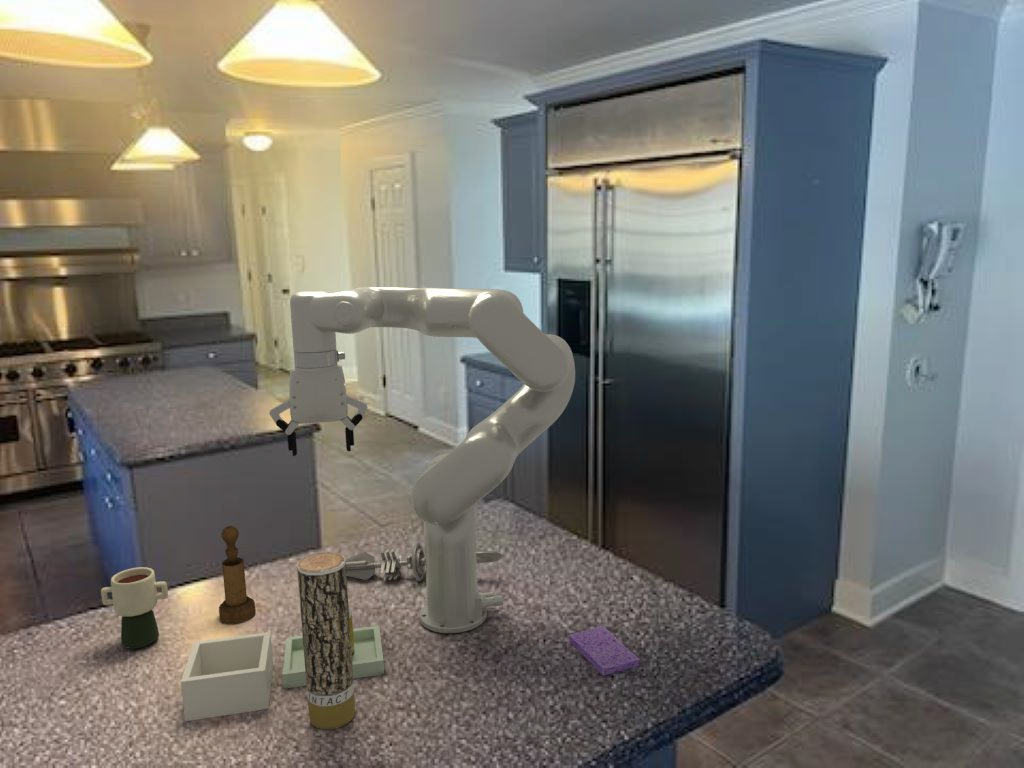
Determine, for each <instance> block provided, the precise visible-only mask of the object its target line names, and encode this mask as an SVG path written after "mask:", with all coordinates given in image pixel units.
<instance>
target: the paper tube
mask: <svg viewBox="0 0 1024 768" xmlns="http://www.w3.org/2000/svg"><path fill="white" fill-rule="evenodd" d="M345 561H346V557H345V556H344V555H342V554H340V553H336V552H318V553H314V554H313V553H312V554H310V555H307V556H305V557H303V558H301V559H300V560H299V561H298V562H297V563H296V564H297V565H296V568H297V571H296V572H297V582H298V595H299V607H300V620H301V633H302V635H303V647H304V659H305V672H306V684H307V685H306V695H307V696H306V697H307V705H308V719H309V721H310V723H311V724H312V725H313V726H314V727H315V728H318V729H321V730H335V729H338V728H341V727H344V726H346V725H347V724H348V723H350V722H351V721H352V720H353V718H354V717H355V714H356V703H355V701H356V700H355V683H354V679H353V665H352V650H351V635H350V620H349V607H350V605H349V594H348V593H349V591H348V580H347V578H348V575H346V562H345Z"/></svg>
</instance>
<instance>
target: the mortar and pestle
mask: <svg viewBox="0 0 1024 768" xmlns="http://www.w3.org/2000/svg"><path fill="white" fill-rule="evenodd" d="M239 534H240V533H239V529H238V528H237V527H236V526H234V525H229V526H225V527H224V528H223V530H222V531H221V539H222V540H223V541H224V542H225V544H226V549H225V550H224V551H225V556H226V559H224V560H223V561H222V562H221V568H222V576H223V586H224V587H223V588H224V600H223V602H221V604H220V605H219V607H218V613H219V620H220V621H221V622H222V623H223V624H224V623H225V624H229V625H230V624H232V625H235V624H239V623H244V622H246V621H248V620H251V619H252V618H253V617H254V616H255V615H256V603H255V600H254V599H253V598H251V597H250V596H248V594H247V584H246V573H245V560H244V559H243V558H242V557H238V554H239V548H238V547H236V542H237V540H238V538H239Z"/></svg>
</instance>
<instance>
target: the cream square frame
mask: <svg viewBox="0 0 1024 768" xmlns="http://www.w3.org/2000/svg"><path fill="white" fill-rule="evenodd" d="M271 633H272V632H271V631H268V632H267V631H266V632H260V633H252V634H245V635H237V636H229V637H222V638H214V639H213V638H212V639H204V640H197V641H194V642H193V645H192V647H191V651H190V652H189V656H188V659H187V662H186V665H185V669H184V671H183V675H182V677H181V680H180V687H181V696H182V703H183V712H184V714H183V715H184V720H185V722H188V721H190V722H191V721H195V720H201V719H209V718H216V717H223V716H229V715H230V716H231V715H236V714H242V713H249V712H256V711H262V710H268V709H269V708H270V701H271V691H272V684H273V683H272V682H273V677H274V676H273V675H274V669H275V668H274V667H275V666H274V657H273V656H274V654H273V643H272V634H271Z"/></svg>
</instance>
